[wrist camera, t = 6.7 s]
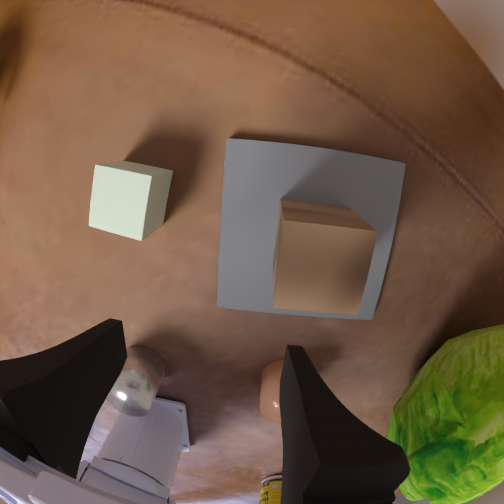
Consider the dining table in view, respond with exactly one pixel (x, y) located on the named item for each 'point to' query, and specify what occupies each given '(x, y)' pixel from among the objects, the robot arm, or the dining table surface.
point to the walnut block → (321, 257)
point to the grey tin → (137, 382)
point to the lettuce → (454, 420)
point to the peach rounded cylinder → (271, 391)
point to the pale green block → (129, 198)
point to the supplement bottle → (271, 490)
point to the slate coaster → (300, 189)
